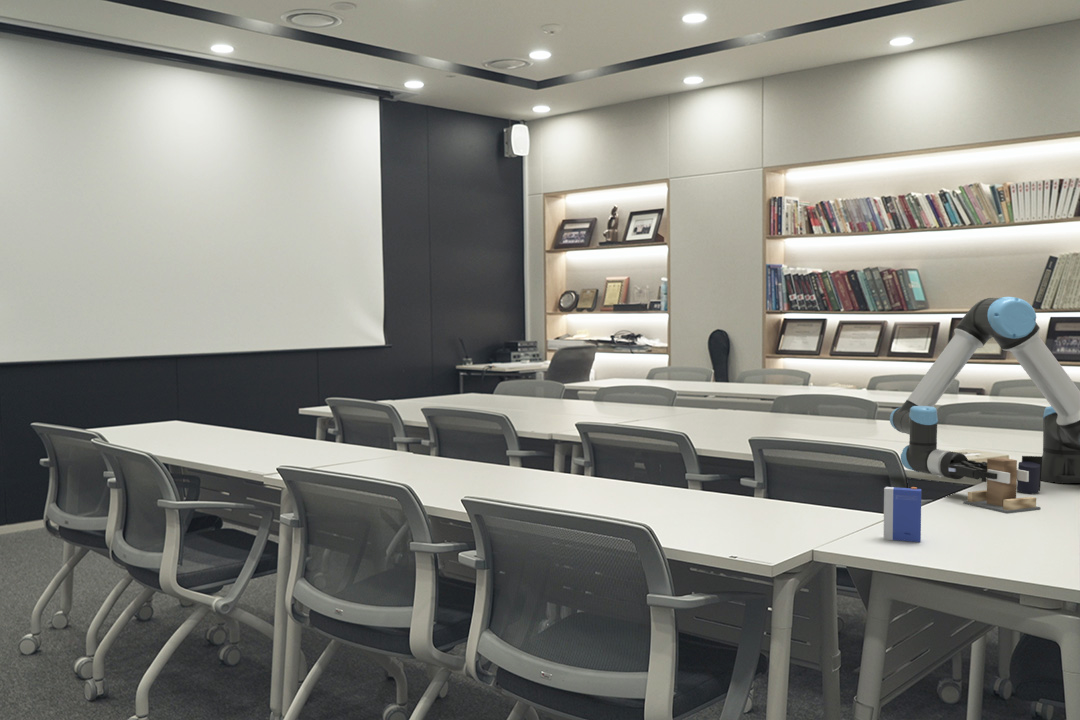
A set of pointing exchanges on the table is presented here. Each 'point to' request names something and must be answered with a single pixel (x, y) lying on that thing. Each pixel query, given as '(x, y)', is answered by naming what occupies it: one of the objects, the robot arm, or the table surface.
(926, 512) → the table surface
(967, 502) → the mat
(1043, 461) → the robot arm
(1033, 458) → the speaker
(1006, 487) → the brown wooden block
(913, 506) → the walkman
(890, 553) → the table surface
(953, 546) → the table surface
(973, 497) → the end caps
